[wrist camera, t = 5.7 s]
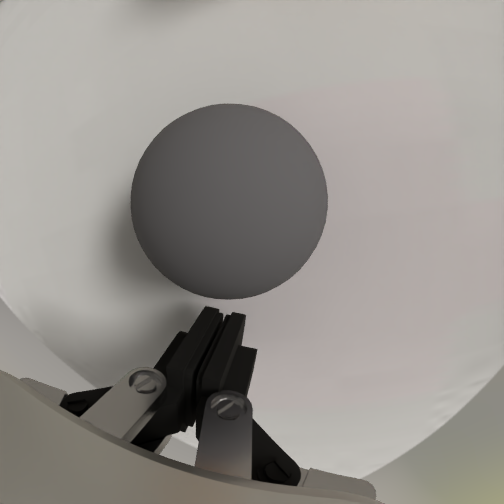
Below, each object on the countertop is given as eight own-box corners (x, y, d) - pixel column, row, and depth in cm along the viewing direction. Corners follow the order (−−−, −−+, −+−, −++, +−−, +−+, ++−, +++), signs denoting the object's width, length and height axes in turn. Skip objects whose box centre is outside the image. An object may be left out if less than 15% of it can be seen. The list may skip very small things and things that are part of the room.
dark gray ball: (198, 270, 12) (132, 344, 7) (165, 143, 10) (69, 136, 5) (331, 248, 11) (356, 323, 5) (301, 106, 9) (303, 47, 4)
